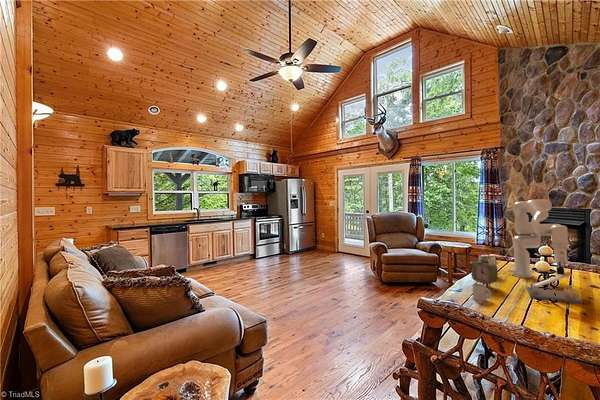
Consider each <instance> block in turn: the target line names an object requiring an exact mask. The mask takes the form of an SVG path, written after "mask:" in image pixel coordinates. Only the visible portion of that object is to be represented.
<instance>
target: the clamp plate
mask: <svg viewBox="0 0 600 400" xmlns="http://www.w3.org/2000/svg"><path fill="white" fill-rule="evenodd" d="M532 284H534V283H532V282H531V283H530V286H527V287H526V291H527V293H528V295H529V298H530V299H537V298H538V299H537V300H545V301H546V300H547V301H550V300H549V299H553V300H557V301H556V302H561V303H569V304H578V305H583V300H582V299H581V298H580V297H579V296H578V295H577V293H576V292H575V291H574V289H573V288H571V285H567V284H566V285H565V286H564V289H563V290H559V289H558V290H556V289H549V288H546V289H547V290H544V289H545V288H540V287H536V286H532ZM554 293H555V294H556V296H555V295H554ZM553 300H552V301H553Z"/></svg>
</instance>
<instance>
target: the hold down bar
mask: <svg viewBox="0 0 600 400" xmlns="http://www.w3.org/2000/svg"><path fill="white" fill-rule="evenodd" d="M572 276H573V275H572V273H571V272H570V271H564V275H561V274H557V275H556V276H553V277H549V278H547V279H545V280H542V281H539V282H536V283H533V284H532V286H536V287H538V288H540V287H542V286H544V285H548V284H551V283H553V282H556V281H559V280H562V279H564V278H568V277H572Z"/></svg>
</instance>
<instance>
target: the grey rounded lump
mask: <svg viewBox="0 0 600 400" xmlns="http://www.w3.org/2000/svg"><path fill="white" fill-rule="evenodd" d="M491 297H492V291H491V289H489V287H487V286H486V284H484V283H477V284H474V283H473V284H472V298H473V300H475V301H478V302H485V301H487V299H490V298H491Z"/></svg>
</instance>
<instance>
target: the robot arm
mask: <svg viewBox="0 0 600 400" xmlns="http://www.w3.org/2000/svg"><path fill="white" fill-rule="evenodd" d="M552 205H553V204H552V202H551V201H550V200H548V199H545V198H543V199H541V198H540V199H539V198H538V199H531V200H528V201H527V200H526V201H524V200H523V201H517V202H514V203H513V205H512V212H513V215H514V231H515V233H516V234H518V235H516V236H513V238H512V240H511V241H512V245H513V253H514V254H513V255H514V268H513V269H510V268H509V269H507V272H509V273H512V275H513V276H515V277H516V278H523V279H526V278H528V279H529V278H533V277H534V275H533V274H531V259H530V252H529V251H528V250H527V249H533V248H534V249H537V248H539V247H540V246H541V241H542V239H541V237H542V236H551V248H553V257H554V258H553V259H554V262H555V263H556V274H557V275H564V273H565V265H568V264H569V263H568V262H569V261H568V251H567V249H568V248H569V243H568V242H569V240H568V239H569V238H568V236H569V235H568V227H567V226H566V225H561V224H560V223H541V222H543V221H545V220H546V219H547V218H548V217H549V211H551V210H552V207H553V206H552ZM527 213H530V214H531V216H532V218H531V220H530V218H529V215H528V214H527ZM529 220H530V221H529Z"/></svg>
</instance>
